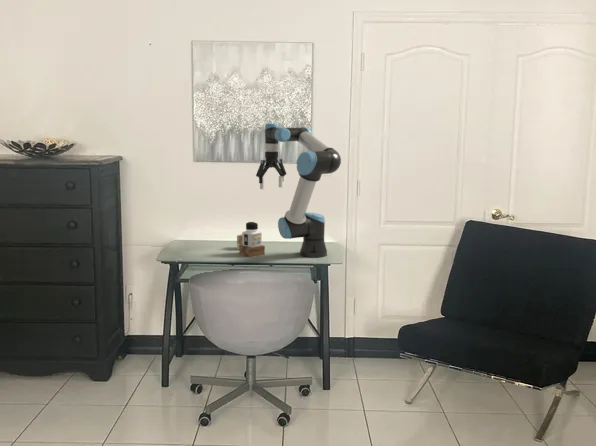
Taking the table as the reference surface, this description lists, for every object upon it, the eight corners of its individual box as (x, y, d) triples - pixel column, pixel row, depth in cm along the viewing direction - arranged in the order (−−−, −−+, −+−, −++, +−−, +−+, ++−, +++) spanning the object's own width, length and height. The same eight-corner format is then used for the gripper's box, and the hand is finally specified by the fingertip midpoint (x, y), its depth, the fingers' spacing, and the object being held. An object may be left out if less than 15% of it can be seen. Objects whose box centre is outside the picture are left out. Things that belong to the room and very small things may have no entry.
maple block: (251, 248, 368) (251, 235, 366) (245, 250, 363) (245, 236, 361) (243, 247, 371) (243, 233, 369) (237, 249, 366) (236, 235, 364)
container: (252, 247, 347) (252, 224, 345) (242, 245, 352) (242, 222, 349) (261, 245, 353) (261, 222, 350) (251, 243, 358) (251, 220, 355)
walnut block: (264, 254, 353) (264, 245, 352) (250, 257, 346) (250, 248, 345) (253, 251, 360) (253, 242, 359) (239, 253, 354) (239, 245, 353)
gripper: (284, 149, 371) (284, 186, 375) (249, 151, 355) (249, 189, 359) (292, 150, 366) (292, 187, 370) (258, 152, 350) (257, 190, 353)
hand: (271, 188), depth 364 cm, fingers open, 13 cm apart
